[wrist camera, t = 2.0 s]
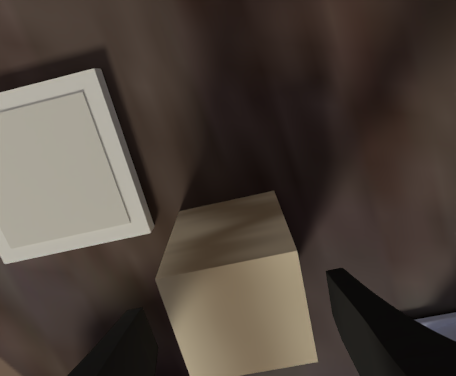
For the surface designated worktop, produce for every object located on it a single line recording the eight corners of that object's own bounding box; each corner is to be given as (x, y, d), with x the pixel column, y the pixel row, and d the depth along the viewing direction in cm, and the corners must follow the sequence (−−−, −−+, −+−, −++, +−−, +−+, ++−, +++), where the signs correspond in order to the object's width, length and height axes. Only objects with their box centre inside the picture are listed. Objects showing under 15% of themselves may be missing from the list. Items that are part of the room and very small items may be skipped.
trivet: (101, 68, 15) (92, 68, 14) (154, 225, 17) (150, 233, 16) (-61, 110, 15) (-78, 112, 14) (14, 255, 18) (3, 265, 17)
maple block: (273, 190, 17) (297, 250, 11) (290, 272, 18) (318, 361, 13) (179, 210, 17) (155, 279, 11) (203, 289, 19) (192, 383, 13)
